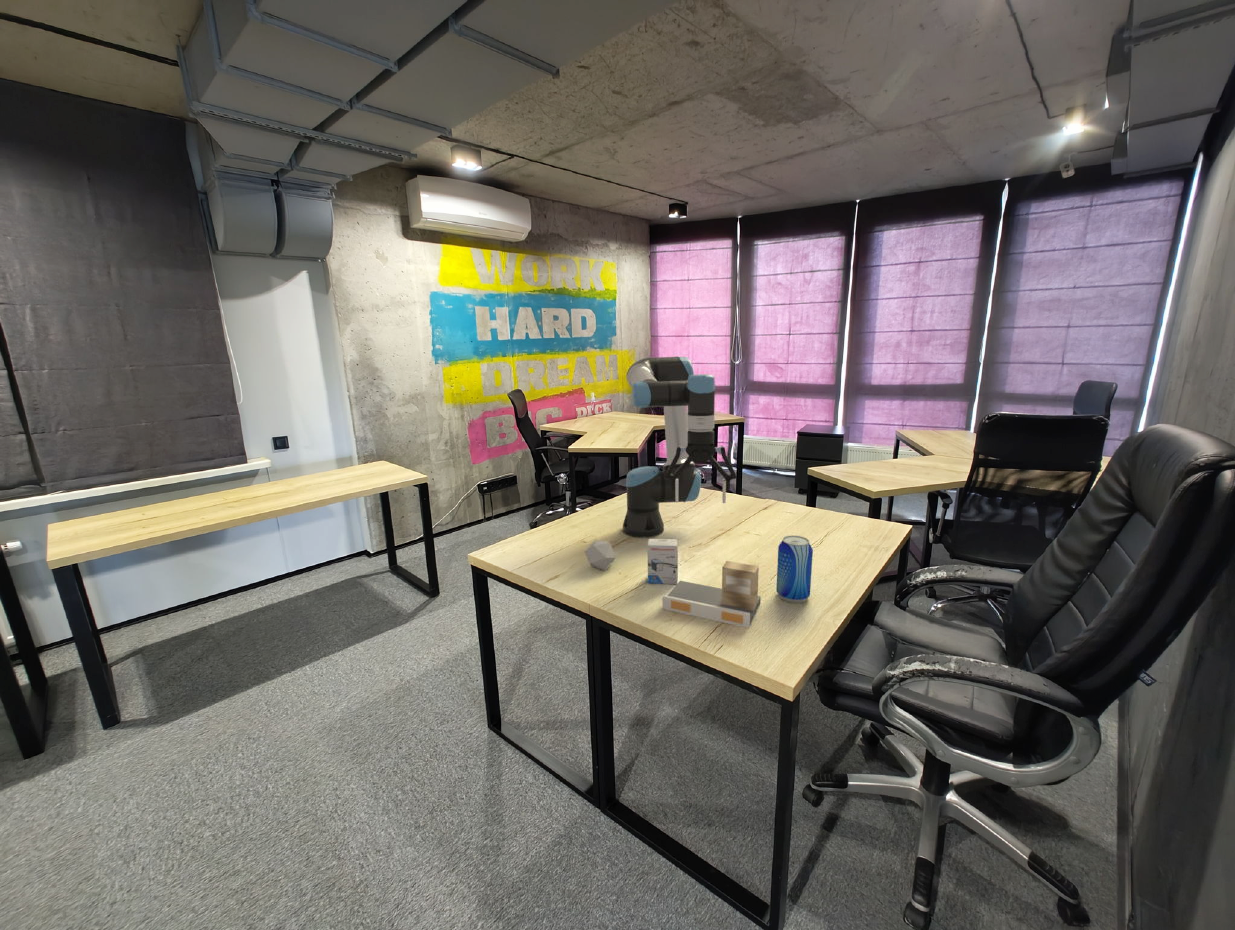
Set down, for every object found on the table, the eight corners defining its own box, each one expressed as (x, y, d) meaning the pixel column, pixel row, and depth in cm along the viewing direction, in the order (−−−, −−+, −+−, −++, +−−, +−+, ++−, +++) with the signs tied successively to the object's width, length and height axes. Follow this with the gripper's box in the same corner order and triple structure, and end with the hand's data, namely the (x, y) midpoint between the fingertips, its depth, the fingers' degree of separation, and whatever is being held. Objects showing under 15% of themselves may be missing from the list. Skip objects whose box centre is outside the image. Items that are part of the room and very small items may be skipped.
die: (621, 567, 153) (613, 537, 157) (612, 564, 145) (604, 532, 149) (596, 575, 155) (589, 545, 159) (586, 573, 147) (578, 541, 150)
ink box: (647, 584, 140) (646, 545, 138) (648, 576, 145) (647, 538, 143) (678, 584, 139) (677, 545, 137) (677, 576, 144) (677, 539, 142)
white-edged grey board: (662, 609, 126) (661, 596, 126) (680, 587, 138) (680, 575, 137) (748, 628, 117) (749, 615, 116) (760, 603, 128) (760, 590, 127)
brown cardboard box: (721, 604, 124) (722, 567, 122) (725, 596, 128) (726, 560, 125) (753, 610, 120) (755, 572, 118) (757, 603, 124) (758, 566, 122)
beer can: (771, 590, 135) (773, 535, 131) (801, 588, 135) (804, 533, 132) (783, 605, 126) (786, 547, 123) (815, 603, 127) (819, 545, 124)
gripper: (655, 432, 139) (656, 504, 143) (747, 431, 135) (745, 506, 139) (657, 428, 146) (658, 497, 150) (744, 427, 142) (742, 498, 146)
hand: (700, 501), depth 145 cm, fingers open, 13 cm apart
